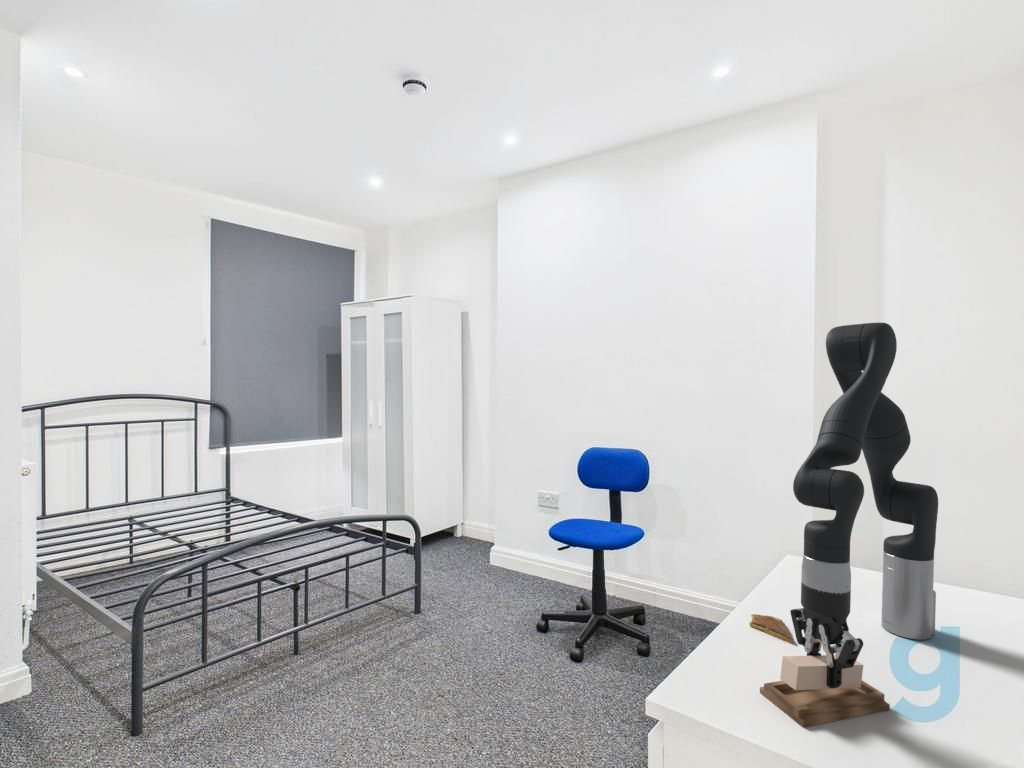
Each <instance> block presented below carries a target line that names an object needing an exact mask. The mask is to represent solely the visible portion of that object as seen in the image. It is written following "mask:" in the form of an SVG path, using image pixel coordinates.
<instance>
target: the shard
mask: <svg viewBox="0 0 1024 768" xmlns="http://www.w3.org/2000/svg"><path fill="white" fill-rule="evenodd" d="M750 616H751V621H750V622H749V626H750V627H749V628H753V629H756V630H759V631H762V632H764V633H766V634H768V635H769V636H772V637H773V638H777V639H779V640H781V641H784V642H787V643H790V644H793V642H794V638H793V636H792V635H791V634H790V631H789V629H788V627H787V626H786V623H785V622H784V621H783V620H782V619H780V618H779V617H775V616H770V615H763V614H757V613H756V614H750Z"/></svg>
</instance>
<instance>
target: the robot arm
mask: <svg viewBox="0 0 1024 768" xmlns="http://www.w3.org/2000/svg"><path fill="white" fill-rule="evenodd" d="M897 344H898V343H897V336H896V333H895V331H894V329H893V327H892V325H890V324H888V323H886V322H869V323H868V322H867V323H857V324H854V323H853V324H846V325H838V326H835V327H833V328H831V329H830V330H829V331H828V332H827V334H826V339H825V350H826V355H827V358H828V361H829V365H830V367H831V369H832V372H833V374H834V376H835V378H836V380H837V382H838V385H839V387H840V389H841V391H842V393H843V394H842V395H841V396H839V397H838V398H837V399H836V400H835V401H834V402H833V403H832V404H831V405H830V407H828V409H827V410H826V412H825V414H824V416H823V419H822V422H821V425H820V427H819V432H818V436H817V439H816V443H815V445H814V447H813V448H812V450H810V453H809V455H808V456H807V457H806V459H804V462H803V463H802V464H801V465H800V467H799V469H798V470H797V472H796V474H795V476H794V479H793V483H792V484H793V485H792V488H793V489H792V491H793V495H794V496H795V499H796V500H797V501H798V502H799V503H800V504H802V505H804V506H807V507H813V508H818V509H824V510H829V511H834V512H835V516H834V518H833V519H826V520H825V519H822V520H821V519H819V520H818V519H817V520H811V521H808V522H806V524H805V526H804V529H803V557H802V560H801V561H802V562H801V574H800V575H801V577H800V578H801V583H800V605H801V606H802V608H794V609H793V608H792V609H791V610H790V612H789V613H790V617H791V620H792V622H791V623H792V626H793V629H794V630H793V631H794V633H795V639H796V641H797V644H798V645H800V646H803V649H804V651H805V653H806V656H821V655H822V653H821V650H823V652H825V655H826V657H827V664H828V665H827V686H828V687H830V688H837V687H839V686H840V685H841V683H842V678H841V677H842V669H845V668H851V667H853V666H854V664H855V662H856V661H858V657H859V656H860V653H861V650H862V648H863V647H864V641H863V639H862V638H860V637H859V638H856V637H854V635H852V634H851V633H850V628H849V625H848V622H847V620H848V619H847V618H848V617H849V615H850V613H851V600H852V599H851V597H852V596H851V593H852V570H851V537H852V532H853V528H854V524H855V520H856V518H857V514H858V512H859V510H860V507H861V504H862V502H863V499H864V496H865V486H864V483H863V481H862V479H861V477H860V476H859V474H857V473H856V472H853V471H850V470H843V469H837V468H836V467H843V466H850V465H853V464H855V463H857V462H858V461H859V459H860V457H861V453H863V456H864V459H865V463H866V466H867V469H868V474H869V476H870V477H869V478H870V481H871V488H872V493H873V497H874V498H873V499H874V502H875V507H876V509H877V512H878V514H879V515H880V517H882V518H883V519H885V520H888V521H891V522H895V523H900V524H905V525H911V526H913V528H912V529H913V530H912V532H910V533H908V534H900V535H890V536H887V537H885V538H884V540H883V545H882V547H883V550H882V552H883V554H882V555H883V556H882V587H881V588H882V589H881V590H882V592H881V593H882V594H881V595H882V596H881V627H882V628H883V629H885V630H886V631H887V632H889V633H891V634H893V635H896V636H899V637H903V638H906V639H912V640H918V641H919V640H920V641H921V640H929V639H931V638H932V636H933V635H935V634H936V608H937V607H936V602H937V600H936V599H937V592H936V591H935V590H934V578H935V577H934V575H935V574H934V573H935V572H934V568H935V567H934V566H935V565H934V564H935V549H936V542H937V541H936V537H937V536H936V535H937V534H936V533H937V523H938V515H939V514H938V512H939V497H938V493H937V491H936V488H934V487H933V486H931V485H927V484H922V483H915V482H907V481H900V480H897V479H896V478H895V476H894V474H893V472H894V469H895V468H896V466H897V465H898V463H900V461H901V460H902V458H903V457H904V456H905V454H906V453H907V451H908V450H909V448H910V445H911V441H912V440H911V439H912V438H911V434H910V430H909V426H908V423H907V419H906V416H905V413H904V412H903V410H902V409H901V407H899V406H898V405H897V404H896V402H894V401H893V400H892V399H891V398H889V397H888V396H887V395H885V393H883V392H882V390H883V389H884V386H885V384H886V381H887V379H888V378H889V374H890V372H891V370H892V368H893V365H894V363H895V359H896V355H897V346H898V345H897ZM834 468H836V469H834ZM803 633H804V636H803ZM834 655H836V659H834Z"/></svg>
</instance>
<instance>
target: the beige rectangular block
mask: <svg viewBox="0 0 1024 768" xmlns="http://www.w3.org/2000/svg"><path fill="white" fill-rule="evenodd" d="M834 659H836V655H835V654H834ZM827 665H828V664H827V657H826V654H823V655H822V654H821V656H807V655H783V656H782V661H781V670H780V677H779V679H780V681H784V682H785V683H786V684H788V685H789V686H790V687H792V688H793V689H795V690H815V689H840V688H861V682H862V681H863V674H864V673H863V672H864V671H863V670H864V664H863V663H862V662H860V661H858V660H856V662H855V664H854V666H853V667H851V668H845V669H842V677H841V678H842V683H841V685H840V686H839V687H837V688H830V687H828V686H827Z"/></svg>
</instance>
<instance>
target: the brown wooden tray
mask: <svg viewBox="0 0 1024 768" xmlns="http://www.w3.org/2000/svg"><path fill="white" fill-rule="evenodd" d="M759 694H761V695H762V696H763V697H764V698H766V699H767V700H768V701H770V702H771V703H772V704H773V705H774V706H776V707H777V708H778V709H779V710H781V711H782V712H783V713H784V714H786V715H787V716H788V717H789V718H791V719H792V720H793V721H794V722H795V723H797V724H798V725H799V726H801V727H802V728H807V727H811V726H816V725H821V724H826V723H831V722H836V721H841V720H847V719H852V718H857V717H861V716H866V715H871V714H876V713H882V712H887V711H890V710H891V709H890V708H891V706H890V703H888V702H887V701H885V693H884V692H882V691H880V690H879V689H877V688H875V687H873V686H872V685H870V684H869V683H867V682H866V681H864V680H862V682H861V688H840V689H815V690H795V689H793V688H792V687H790V686H789V685H788V684H786V683H785V682H784V681H782V680H778V681H772V682H766V683H764V684H763V686H759Z"/></svg>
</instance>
